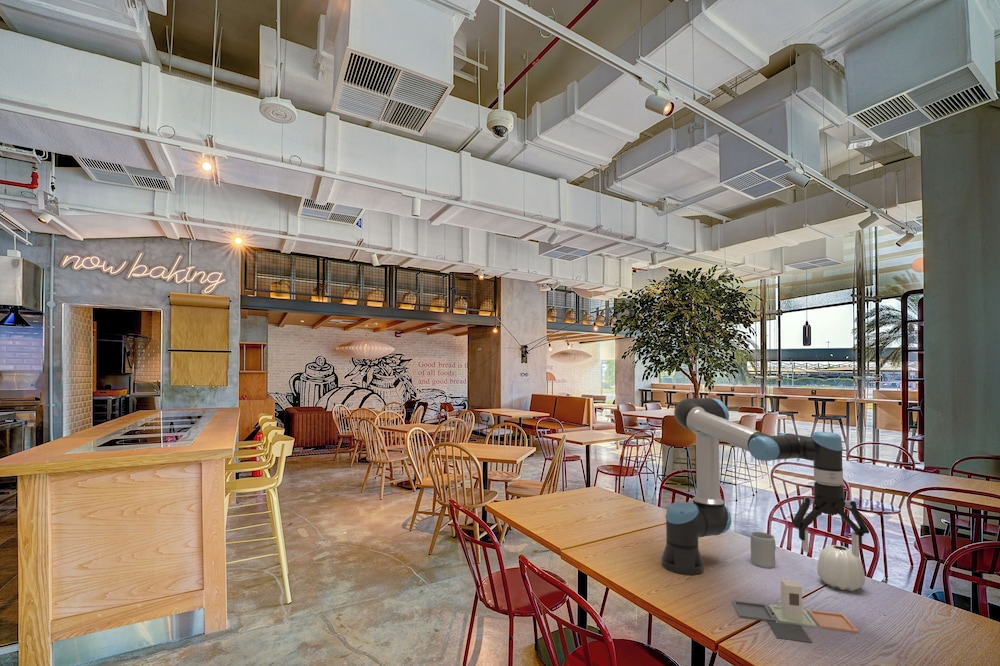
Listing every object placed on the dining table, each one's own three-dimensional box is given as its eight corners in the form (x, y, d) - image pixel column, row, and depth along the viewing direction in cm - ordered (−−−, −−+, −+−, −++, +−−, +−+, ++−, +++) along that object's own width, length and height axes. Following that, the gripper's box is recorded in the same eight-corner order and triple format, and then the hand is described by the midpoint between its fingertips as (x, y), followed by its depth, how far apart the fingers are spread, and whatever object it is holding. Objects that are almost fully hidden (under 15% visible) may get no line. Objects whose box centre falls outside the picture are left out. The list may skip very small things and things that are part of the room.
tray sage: (779, 624, 144) (779, 620, 144) (769, 607, 154) (769, 604, 154) (816, 628, 142) (816, 625, 142) (803, 612, 151) (803, 608, 151)
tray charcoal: (739, 618, 147) (739, 615, 147) (732, 603, 156) (732, 600, 156) (775, 623, 144) (775, 620, 144) (765, 607, 154) (765, 604, 154)
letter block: (786, 619, 146) (785, 585, 147) (781, 612, 150) (780, 579, 151) (802, 621, 145) (802, 587, 146) (797, 614, 149) (796, 581, 150)
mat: (777, 639, 136) (777, 637, 136) (767, 623, 144) (767, 621, 144) (812, 644, 133) (812, 642, 134) (800, 627, 142) (800, 625, 142)
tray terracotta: (820, 629, 141) (820, 625, 141) (807, 612, 151) (807, 609, 151) (859, 634, 139) (859, 631, 139) (843, 617, 149) (843, 613, 149)
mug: (766, 569, 183) (766, 540, 184) (746, 561, 190) (745, 533, 191) (785, 564, 189) (784, 535, 189) (764, 556, 196) (763, 529, 197)
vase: (852, 598, 161) (850, 557, 162) (809, 581, 174) (808, 543, 174) (873, 590, 168) (872, 551, 168) (830, 574, 180) (829, 538, 181)
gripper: (788, 482, 147) (789, 553, 146) (881, 489, 141) (884, 562, 140) (779, 477, 154) (781, 544, 153) (868, 483, 149) (870, 553, 147)
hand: (830, 553), depth 146 cm, fingers open, 13 cm apart
